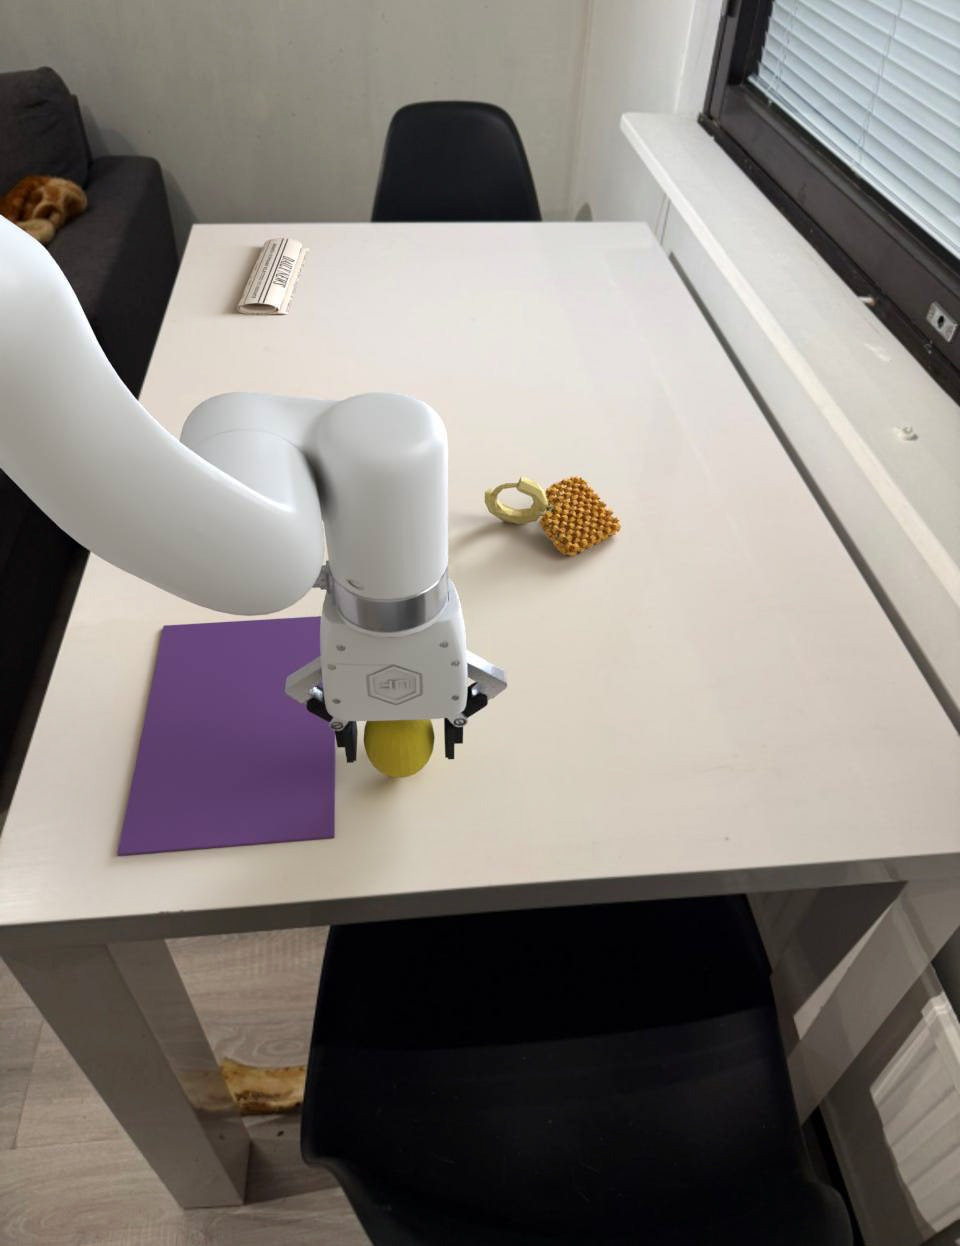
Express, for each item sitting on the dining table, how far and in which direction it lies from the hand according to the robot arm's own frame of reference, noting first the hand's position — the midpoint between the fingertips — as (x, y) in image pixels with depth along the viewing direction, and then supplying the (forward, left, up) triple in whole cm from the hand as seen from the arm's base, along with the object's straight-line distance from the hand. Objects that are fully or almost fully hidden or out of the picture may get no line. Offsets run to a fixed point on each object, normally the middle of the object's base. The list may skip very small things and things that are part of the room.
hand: (400, 745), depth 69 cm
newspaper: (+51, +80, -3) cm, 95 cm away
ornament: (+33, +10, -3) cm, 35 cm away
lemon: (0, 0, -3) cm, 3 cm away
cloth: (-6, +13, -3) cm, 15 cm away
